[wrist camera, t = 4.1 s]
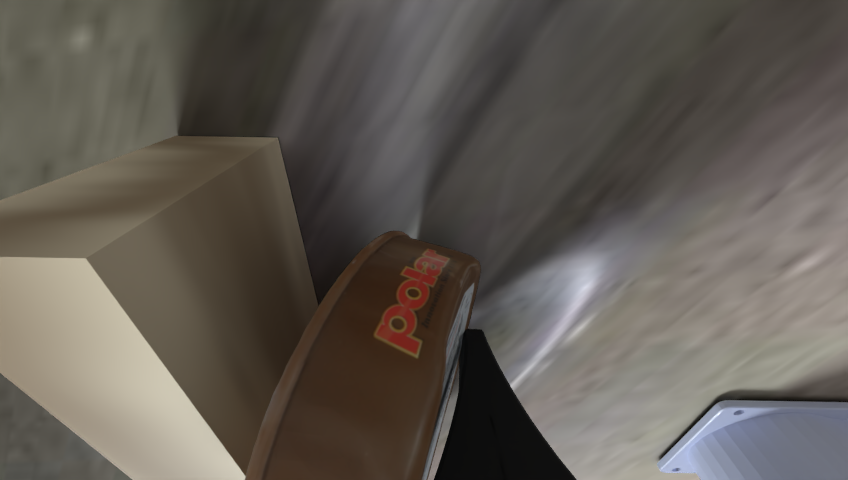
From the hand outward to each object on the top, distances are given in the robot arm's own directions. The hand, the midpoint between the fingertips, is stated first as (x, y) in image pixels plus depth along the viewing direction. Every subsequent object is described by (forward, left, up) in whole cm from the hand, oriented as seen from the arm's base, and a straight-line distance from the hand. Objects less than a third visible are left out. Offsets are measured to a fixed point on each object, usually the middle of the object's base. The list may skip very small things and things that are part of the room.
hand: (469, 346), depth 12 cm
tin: (+1, +1, -1) cm, 2 cm away
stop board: (+8, +4, -1) cm, 9 cm away
